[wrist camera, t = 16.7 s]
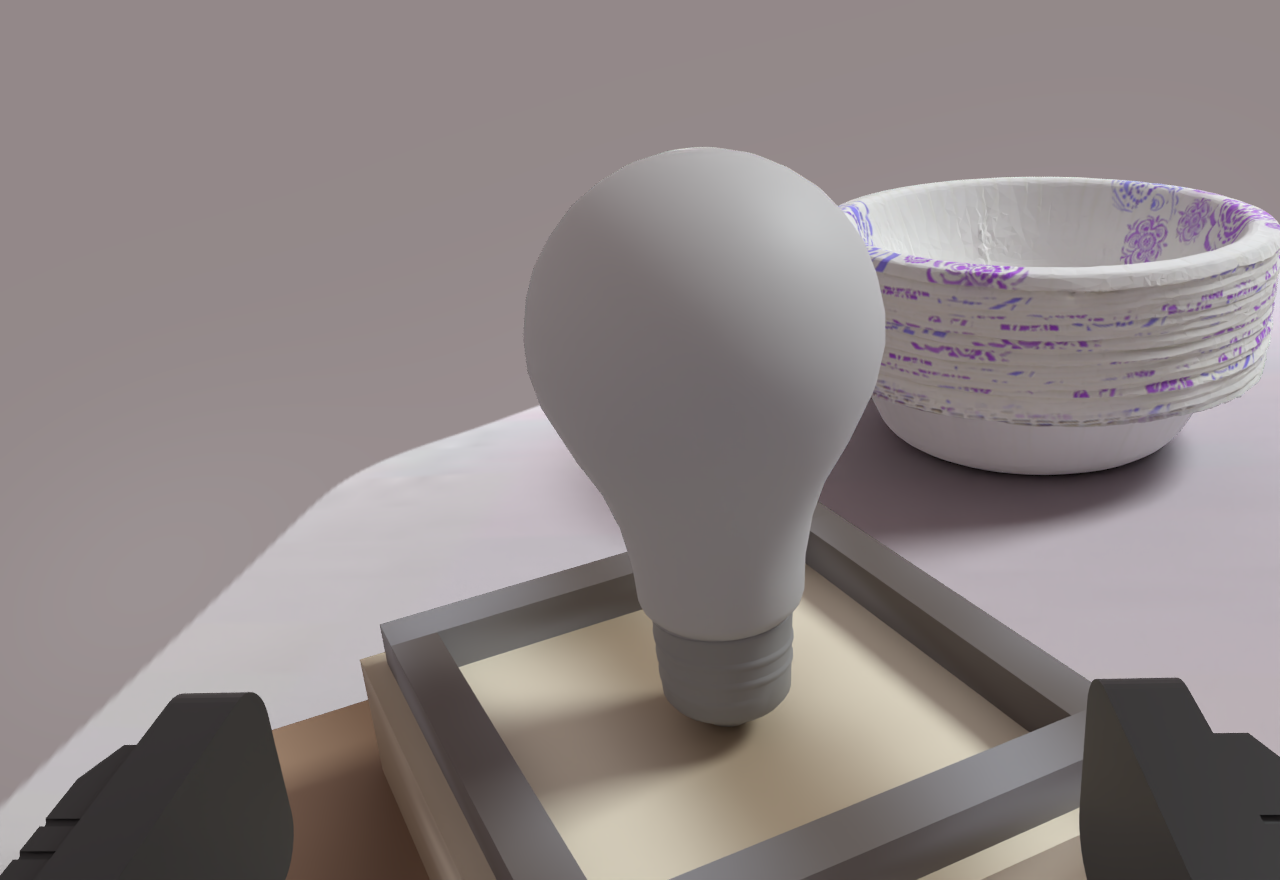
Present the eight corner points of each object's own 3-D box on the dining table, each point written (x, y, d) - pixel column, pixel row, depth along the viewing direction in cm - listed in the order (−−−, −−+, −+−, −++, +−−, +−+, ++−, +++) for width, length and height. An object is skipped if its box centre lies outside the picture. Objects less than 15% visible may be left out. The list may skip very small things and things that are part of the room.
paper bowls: (1347, 422, 42) (1382, 195, 39) (1068, 569, 34) (1084, 302, 31) (999, 333, 54) (1005, 155, 51) (735, 428, 46) (723, 224, 43)
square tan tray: (852, 558, 36) (850, 422, 34) (1451, 980, 21) (1501, 772, 19) (236, 755, 29) (195, 600, 28) (440, 1584, 14) (377, 1349, 12)
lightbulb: (582, 642, 26) (521, 136, 22) (859, 623, 26) (851, 108, 22) (564, 833, 21) (477, 204, 17) (916, 810, 21) (921, 167, 16)
